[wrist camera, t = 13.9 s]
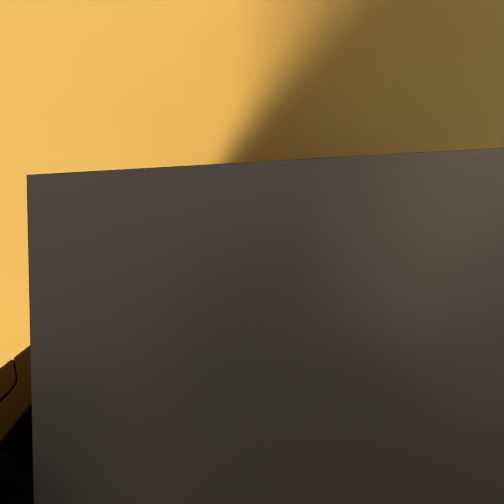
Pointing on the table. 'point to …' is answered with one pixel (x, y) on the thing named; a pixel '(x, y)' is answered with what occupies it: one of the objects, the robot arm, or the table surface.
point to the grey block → (270, 332)
